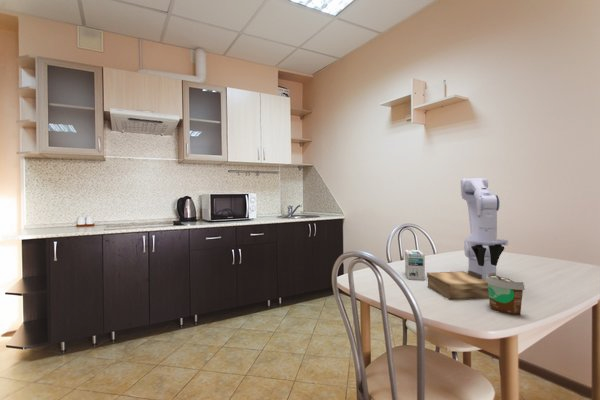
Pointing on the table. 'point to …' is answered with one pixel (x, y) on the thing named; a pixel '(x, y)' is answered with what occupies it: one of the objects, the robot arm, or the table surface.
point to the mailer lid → (460, 279)
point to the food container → (504, 294)
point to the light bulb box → (415, 264)
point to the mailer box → (458, 293)
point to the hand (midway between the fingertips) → (487, 265)
